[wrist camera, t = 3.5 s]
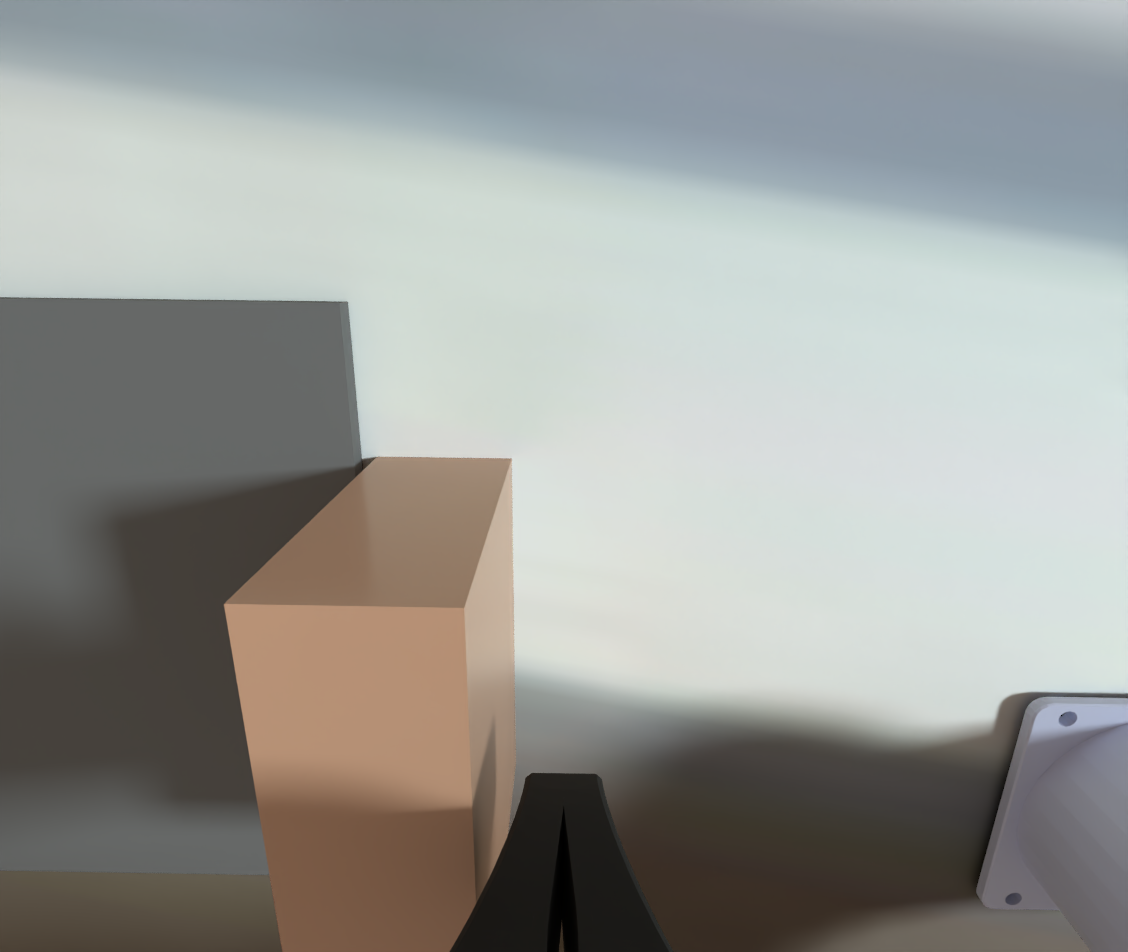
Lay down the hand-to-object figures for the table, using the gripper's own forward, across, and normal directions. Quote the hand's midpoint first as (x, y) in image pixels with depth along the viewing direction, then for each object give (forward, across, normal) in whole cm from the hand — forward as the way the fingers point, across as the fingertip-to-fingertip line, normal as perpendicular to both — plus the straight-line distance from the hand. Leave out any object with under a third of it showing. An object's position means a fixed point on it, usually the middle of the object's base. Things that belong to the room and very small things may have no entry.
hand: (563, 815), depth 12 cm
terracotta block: (+7, +3, 0) cm, 8 cm away
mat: (+7, +14, 0) cm, 15 cm away
